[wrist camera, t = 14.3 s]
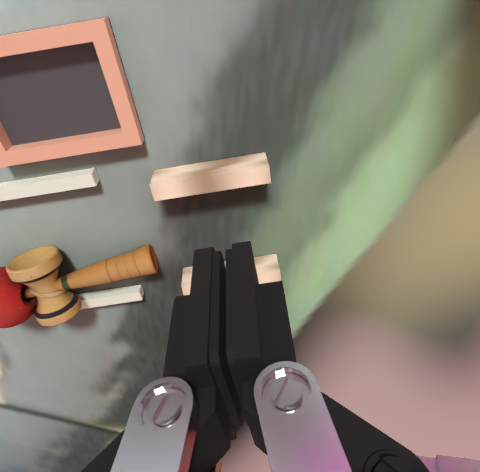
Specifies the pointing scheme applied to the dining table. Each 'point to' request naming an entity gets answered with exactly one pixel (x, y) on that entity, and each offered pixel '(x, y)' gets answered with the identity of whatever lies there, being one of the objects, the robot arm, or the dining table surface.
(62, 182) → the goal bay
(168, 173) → the lane
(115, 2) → the dining table surface
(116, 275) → the kendama
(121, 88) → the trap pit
